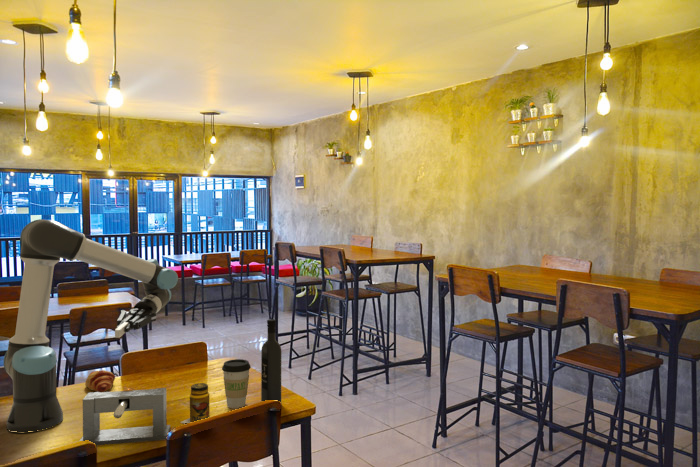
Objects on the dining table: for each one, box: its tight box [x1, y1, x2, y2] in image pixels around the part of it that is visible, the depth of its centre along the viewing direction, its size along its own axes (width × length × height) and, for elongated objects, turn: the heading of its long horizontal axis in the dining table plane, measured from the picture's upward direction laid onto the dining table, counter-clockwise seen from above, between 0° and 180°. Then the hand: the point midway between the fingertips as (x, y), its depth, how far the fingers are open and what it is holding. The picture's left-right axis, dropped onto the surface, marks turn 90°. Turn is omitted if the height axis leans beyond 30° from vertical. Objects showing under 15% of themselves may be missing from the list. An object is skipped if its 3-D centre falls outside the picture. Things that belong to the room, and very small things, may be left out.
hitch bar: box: [79, 387, 171, 446], centre depth 151 cm, size 24×8×13 cm, turn 102°
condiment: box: [180, 382, 210, 424], centre depth 163 cm, size 7×8×12 cm
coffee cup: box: [221, 358, 251, 409], centre depth 177 cm, size 10×10×15 cm
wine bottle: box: [260, 318, 282, 403], centre depth 178 cm, size 6×6×30 cm
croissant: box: [84, 369, 116, 392], centre depth 195 cm, size 21×10×8 cm, turn 36°
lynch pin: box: [113, 387, 135, 419], centre depth 147 cm, size 5×14×5 cm, turn 12°
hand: (117, 333), depth 166 cm, fingers closed
